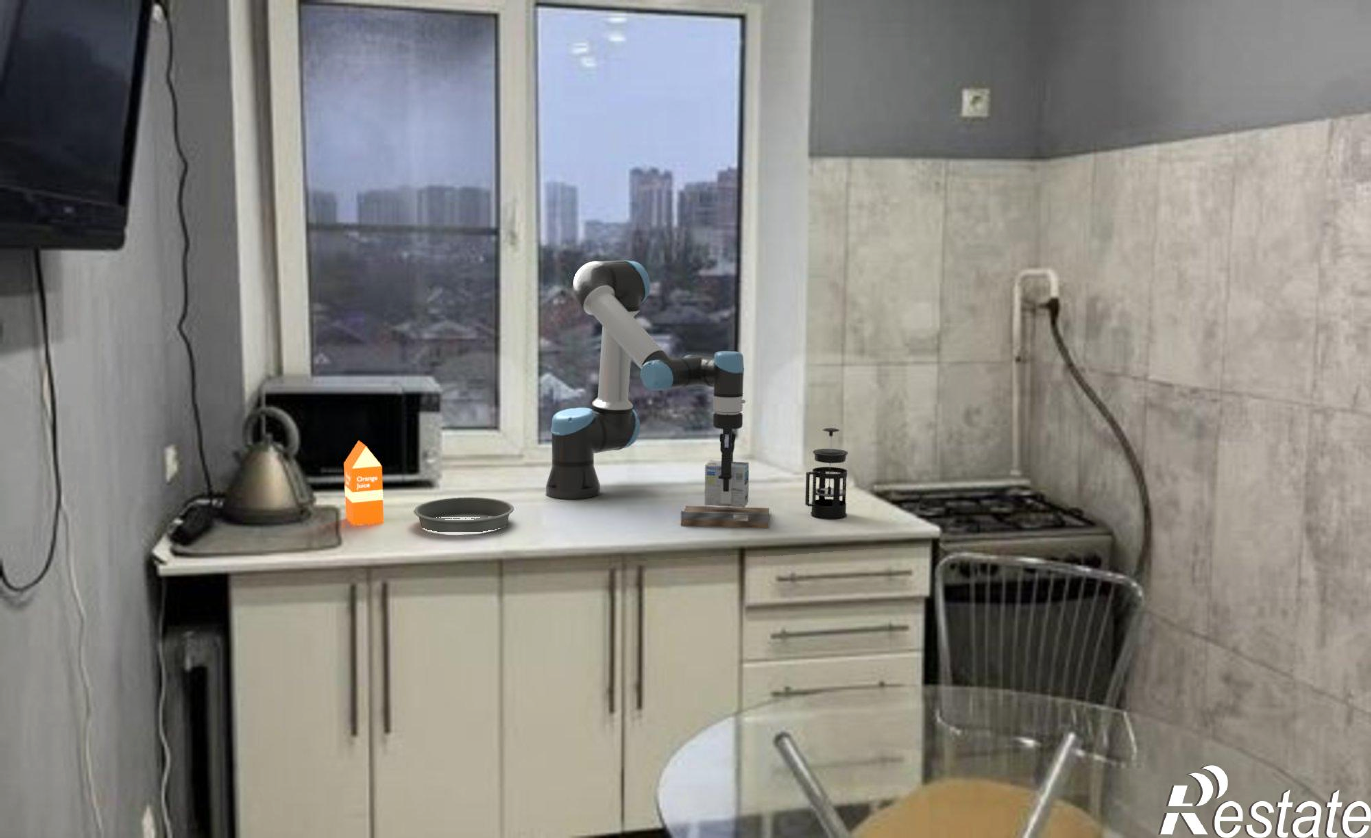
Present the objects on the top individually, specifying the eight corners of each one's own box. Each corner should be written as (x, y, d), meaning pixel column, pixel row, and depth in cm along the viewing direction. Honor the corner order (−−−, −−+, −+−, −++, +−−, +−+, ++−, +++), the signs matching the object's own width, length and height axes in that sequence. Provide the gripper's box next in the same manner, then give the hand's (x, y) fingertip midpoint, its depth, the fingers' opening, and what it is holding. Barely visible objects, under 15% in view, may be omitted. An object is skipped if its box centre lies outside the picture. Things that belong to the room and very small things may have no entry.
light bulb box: (748, 502, 309) (749, 461, 307) (745, 508, 302) (745, 466, 301) (708, 499, 311) (709, 459, 309) (703, 505, 304) (704, 464, 303)
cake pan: (471, 543, 281) (471, 525, 280) (393, 529, 292) (392, 511, 292) (533, 521, 302) (533, 504, 301) (458, 509, 314) (458, 492, 313)
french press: (839, 509, 316) (841, 424, 312) (855, 517, 307) (858, 430, 303) (798, 512, 312) (801, 426, 308) (813, 521, 303) (816, 432, 300)
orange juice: (353, 526, 294) (349, 447, 291) (345, 518, 302) (342, 441, 299) (384, 522, 298) (381, 444, 295) (376, 514, 306) (373, 438, 302)
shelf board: (680, 525, 297) (680, 512, 297) (685, 511, 312) (685, 498, 312) (768, 528, 296) (768, 514, 295) (769, 513, 311) (769, 500, 310)
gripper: (741, 419, 293) (739, 509, 296) (744, 406, 312) (742, 491, 316) (711, 418, 293) (709, 508, 297) (715, 405, 313) (714, 490, 317)
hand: (726, 499), depth 306 cm, fingers closed on light bulb box, 7 cm apart
